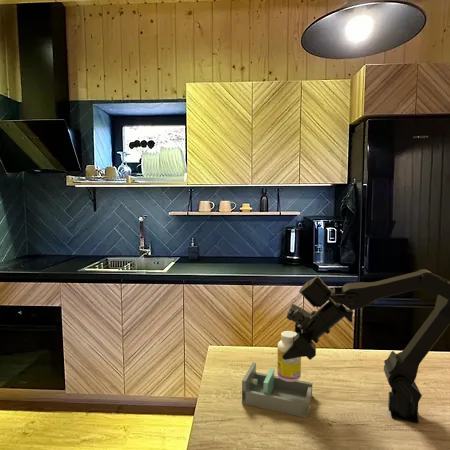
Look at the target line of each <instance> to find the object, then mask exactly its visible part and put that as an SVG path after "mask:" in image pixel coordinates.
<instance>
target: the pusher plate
mask: <svg viewBox="0 0 450 450" xmlns="http://www.w3.org/2000/svg"><path fill="white" fill-rule="evenodd" d="M266 374H267V376H266V378H265V381H264V384H263V393H265V394H270V395H271V393H272V390H273V388H274V376H275V368H272V367H270V368H269V370H268V373H266Z"/></svg>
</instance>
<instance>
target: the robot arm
mask: <svg viewBox="0 0 450 450" xmlns="http://www.w3.org/2000/svg"><path fill="white" fill-rule="evenodd" d="M422 289H428V290H430V291H431V292H434V293H436V294H437V297H436V301H435V305H434V308H433V310H432V311H431V313H430V314H429V315H428V316H427V318H426V320H425V321H424V322H423V323H422V324H421V327H420V328H418V330H417V332H416V333H415V334H414V336H413V337H412V339H410V341H409V342H408V344H407V345H406V347H405V348H404V349H403V350H402V351H400V352H398V353H396V352H395V351H393V350H392V351H391V352H390V353H389V355H388V357H387V358H386V359H385V360H383V363H384V366H383V371H384V375H385V378H386V380H387V382H388V385H389V387H390V388H391V389H390V391H389V392H388V399H387V407H388V412H390V416H391V417H390V418H393V419H397V420H401V421H405V422H410V423H417V424H419V422H420V420H419V416H418V415H419V402H420V400H421V398H422V396H423V395H422V394H421V391H420V389H419V387H418V385H417V384H416V381H415V380H416V378H417V377H418V376H417V375H418V372H419V367H420V364H421V362H422V361H423V360H424V359H425V357H426V356H427V355H428V354H429V352H430V351H431V350H432V348H434V345H436V343H437V342H438V341H439V339H440V338H441V337H442V335H443V334H444V332H445V331H446V330H447V329H448V327H449V326H450V280H448V279H445V278H443V277H441V276H439V275H436V274H434V273H432V271H429V270H428V269H419V270H417V271H414V272H413V271H412V272H409V273H405V274H402V275H398V276H393V277H389V278H385V279H381V280H377V281H371V282H368V281H367V282H365V281H364V282H363V281H360V282H359V281H358V282H348V283H345V284H344V285H343V286H334V287H333V286H332V287H329V286H328V285H327V284H326V283H324V281H323V280H322V279H321V277H320V276H319V275H316V276H315V277H314V278H311V279H310V280H307V281H306V282H305V283H304V284H303V285H302V287H300V288H299V291H298V293H300V294H301V296H303V298H304V299H305V300H306V301H307V302H308V303H309V304H310V305H311V307H313V308H319V309H318V310H317V311H316V310H312V311H310V312H309V311H307V310H306V309H304V308H302V307H300V306H298V305H297V304H293V303H292V304H291V306H290V307H289V309H288V311H287V313H286V319H287V320H288V321H290V322H294V323H295V324H294V331H293V332H296V333H297V335H296V336H295V337H294V336H293V344H292V345H291V346H290V348H289V349H288V350H287V351H286V352H285V354H284V355H283V356H282V358H283V359H284V360H287V359H292V358H298V357H301V358H303V357H306V358H307V359H308V360H309V361H310V360H312V359H313V358H315V357H316V356H317V352H316V351H317V345H316V344H317V343H319V342H320V338H321V337H322V336H324V335H325V334H326V335H329V334H330V333H331V329H333V327H334V326H335V325H336V324H338V323H339V322H341V321H342V320H343V319H344V318H345V319H347V321H348V322H349V323H353V315H354V310H355V311H357V310H359V309H362V308H364V307H367V306H369V305H370V304H372V303H374V302H375V301H377V300H379V299H383V298H388V297H392V296H396V295H400V294H404V293H409V292H414V291H417V290H422Z"/></svg>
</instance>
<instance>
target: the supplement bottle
mask: <svg viewBox="0 0 450 450" xmlns="http://www.w3.org/2000/svg"><path fill="white" fill-rule="evenodd" d="M296 335H297V333H296V332H294V331H293V330H284V331H282V332H281V333H280V339H281V340H280V341H278V342H277V361H276V362H277V366H276V367H277V376H278V377H279V378H280V379H281V380H283V381H287V382H294V381H297V380H299V381H300V379H301V376H302V357H298V358H292V359H287V360H284V359H283V358H282V356H283V355H284V354H285V352H286V351H287V350H288V349H289V348H290V346H291V345H292V344H293V336H294V337H295V336H296Z"/></svg>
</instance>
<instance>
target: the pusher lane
mask: <svg viewBox="0 0 450 450" xmlns="http://www.w3.org/2000/svg"><path fill="white" fill-rule="evenodd" d="M267 374H268V373H261V372H257V363H256V362H252V363H251V365H250V367H249V368H248V370H247V372H246V373H245V375H244V377H243V378H242V379H241V404H244V405H246V406H250V407H251V406H252V407H254V408H255V407H256V408H260V409H264V410H268V411H269V410H270V411H274V412H277V413H281V414H282V413H283V414H288V415H291V416H295V417H300V418H304V419H305V418H306V419H308V416H309V411H310V407H311V401H312V396H313V382H310V381H304V380H300V379H299V380H297V381H294V382H287V381H283V380H281V379H280V378H279V377H278V375H274V388H273V390H272V393H271V395H270V394H265V393H263V384H264V381H265V378H266V376H267Z"/></svg>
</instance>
